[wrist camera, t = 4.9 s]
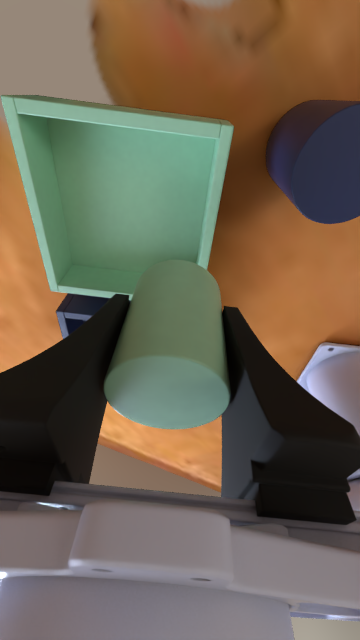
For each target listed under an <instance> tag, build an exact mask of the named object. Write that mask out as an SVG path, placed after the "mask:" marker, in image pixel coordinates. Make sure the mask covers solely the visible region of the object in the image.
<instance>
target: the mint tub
mask: <svg viewBox="0 0 360 640" xmlns="http://www.w3.org/2000/svg"><path fill="white" fill-rule="evenodd" d="M1 100H2V104H3V108H4V111H5V115H6V119H7V123H8V127H9V131H10V135H11V139H12V143H13V146H14V150H15V154H16V158H17V162H18V166H19V170H20V174H21V178H22V181H23V185H24V189H25V193H26V197H27V201H28V205H29V209H30V212H31V216H32V220H33V224H34V228H35V232H36V236H37V240H38V244H39V247H40V251H41V255H42V259H43V263H44V267H45V271H46V275H47V278H48V282H49V286H50V290H51V291H55V292H63V293H72V294H80V295H89V296H97V297H106V298H111V297H112V296H113V295H115V294H124V295H129V300H131V299H132V296H133V293H134V290H135V287H136V284H137V282H138V279H139V278H140V276H141V275H142V274H143V273H144V272H145V271H146V270H147V269H148V268H150V267H151V266H153V265H155V264H157V263H159V262H163V261H167V260H185V261H189V262H193V263H195V264H197V265H200V266H201V267H203V268H204V269H206V270H207V268H208V262H209V257H210V252H211V247H212V241H213V236H214V231H215V225H216V220H217V215H218V210H219V204H220V199H221V194H222V188H223V183H224V178H225V172H226V167H227V162H228V157H229V151H230V146H231V141H232V135H233V130H234V126H233V125H232V124H231V123H230V122H229V121H228V120H222V119H214V118H206V117H199V116H191V115H184V114H176V113H168V112H161V111H153V110H145V109H138V108H130V107H123V106H115V105H106V104H99V103H92V102H84V101H77V100H69V99H62V98H54V97H46V96H39V95H1Z"/></svg>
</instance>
